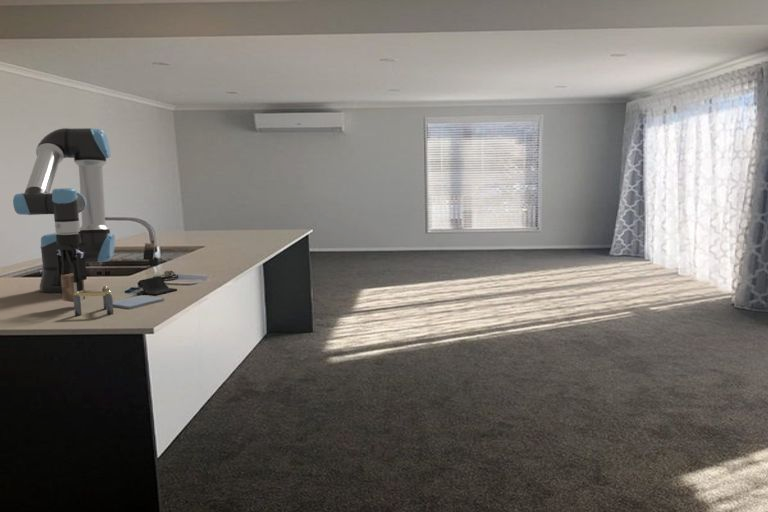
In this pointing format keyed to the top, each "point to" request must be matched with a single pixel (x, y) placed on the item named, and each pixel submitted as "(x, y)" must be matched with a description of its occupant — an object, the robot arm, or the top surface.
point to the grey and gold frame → (106, 295)
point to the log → (168, 276)
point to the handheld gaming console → (155, 286)
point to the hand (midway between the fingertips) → (73, 298)
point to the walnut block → (68, 287)
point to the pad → (136, 301)
